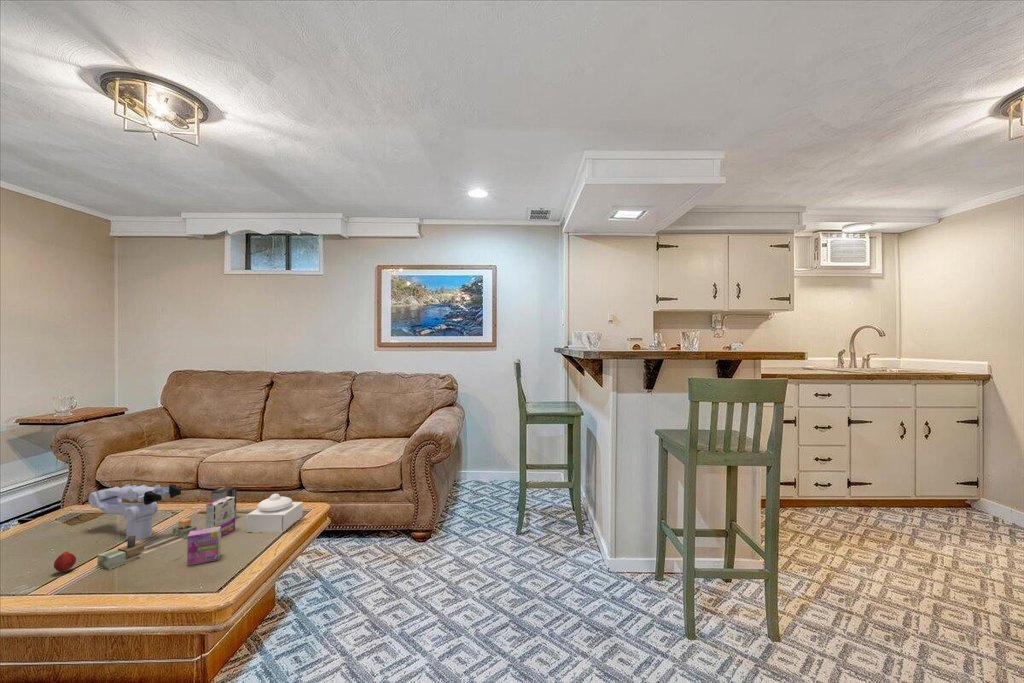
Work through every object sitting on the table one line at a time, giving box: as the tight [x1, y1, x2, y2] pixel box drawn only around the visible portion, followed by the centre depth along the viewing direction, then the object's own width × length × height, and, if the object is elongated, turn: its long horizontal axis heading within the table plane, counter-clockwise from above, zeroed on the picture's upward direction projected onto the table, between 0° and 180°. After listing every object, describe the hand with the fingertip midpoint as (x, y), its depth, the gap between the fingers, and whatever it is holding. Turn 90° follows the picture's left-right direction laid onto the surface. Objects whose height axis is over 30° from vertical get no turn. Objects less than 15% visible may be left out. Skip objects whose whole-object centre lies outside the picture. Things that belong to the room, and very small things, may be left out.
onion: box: [53, 550, 77, 573], centre depth 163 cm, size 6×6×8 cm
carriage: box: [117, 535, 145, 557], centre depth 174 cm, size 6×6×6 cm
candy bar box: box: [205, 496, 236, 538], centre depth 195 cm, size 11×5×16 cm, turn 168°
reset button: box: [178, 518, 192, 530], centre depth 193 cm, size 3×3×4 cm
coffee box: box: [211, 485, 237, 519], centre depth 213 cm, size 9×6×16 cm
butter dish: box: [245, 493, 304, 533], centre depth 207 cm, size 18×18×16 cm
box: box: [186, 526, 222, 567], centre depth 172 cm, size 10×6×12 cm, turn 117°
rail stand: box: [96, 525, 198, 570], centre depth 181 cm, size 8×32×4 cm, turn 160°
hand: (170, 495), depth 186 cm, fingers open, 7 cm apart
